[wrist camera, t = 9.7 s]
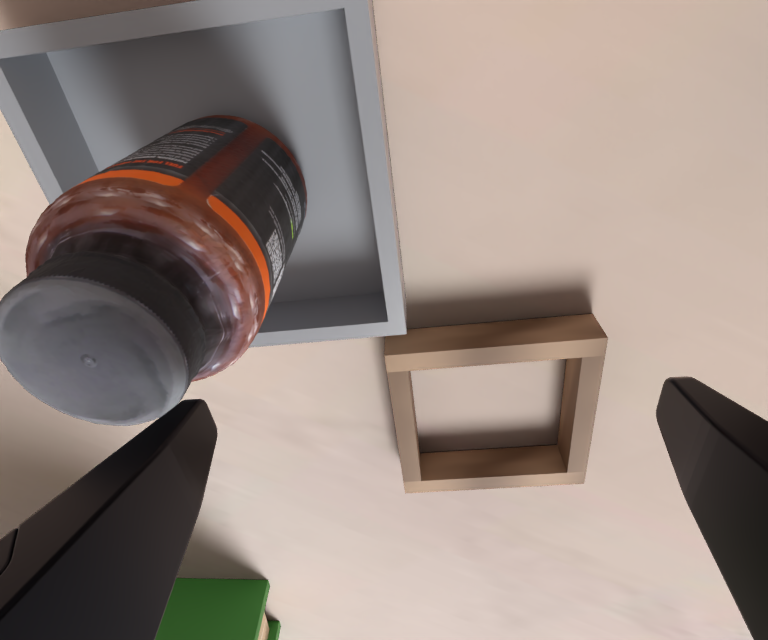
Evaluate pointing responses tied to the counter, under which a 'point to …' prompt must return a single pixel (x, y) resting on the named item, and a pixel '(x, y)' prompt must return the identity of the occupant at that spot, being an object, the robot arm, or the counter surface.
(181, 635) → the hardback book
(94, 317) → the supplement bottle
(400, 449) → the brown wooden square frame
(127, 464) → the robot arm
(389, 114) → the counter surface
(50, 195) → the tray
